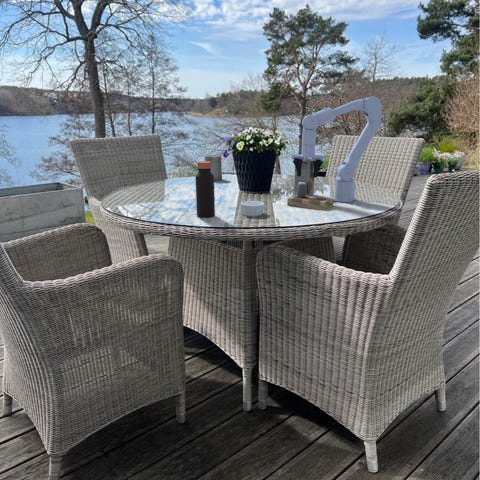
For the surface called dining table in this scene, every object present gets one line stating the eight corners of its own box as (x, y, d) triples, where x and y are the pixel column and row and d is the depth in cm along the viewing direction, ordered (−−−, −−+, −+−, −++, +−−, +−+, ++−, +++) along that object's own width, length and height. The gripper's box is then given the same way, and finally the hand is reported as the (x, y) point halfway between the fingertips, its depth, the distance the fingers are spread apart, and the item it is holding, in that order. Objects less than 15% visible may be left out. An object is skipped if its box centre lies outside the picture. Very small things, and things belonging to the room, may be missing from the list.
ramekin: (268, 214, 161) (268, 202, 159) (253, 218, 154) (253, 206, 153) (250, 210, 166) (250, 199, 165) (235, 214, 160) (235, 203, 159)
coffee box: (301, 193, 201) (302, 159, 197) (313, 194, 198) (315, 159, 193) (293, 196, 194) (294, 161, 189) (306, 197, 191) (308, 161, 186)
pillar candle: (215, 177, 251) (214, 152, 247) (225, 179, 244) (224, 153, 240) (202, 179, 246) (200, 153, 241) (211, 181, 238) (210, 154, 234)
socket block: (298, 201, 183) (298, 193, 182) (332, 205, 174) (333, 197, 173) (287, 205, 175) (287, 197, 174) (323, 209, 166) (323, 201, 165)
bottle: (193, 216, 157) (191, 162, 151) (204, 212, 162) (202, 160, 156) (207, 218, 153) (205, 163, 147) (218, 215, 159) (217, 161, 153)
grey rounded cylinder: (299, 202, 179) (299, 181, 177) (307, 202, 177) (307, 182, 175) (295, 203, 176) (296, 182, 174) (303, 204, 174) (304, 183, 172)
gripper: (328, 144, 177) (326, 176, 181) (297, 143, 185) (296, 174, 189) (321, 145, 172) (320, 178, 175) (290, 144, 179) (289, 176, 183)
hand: (307, 176), depth 182 cm, fingers open, 7 cm apart
